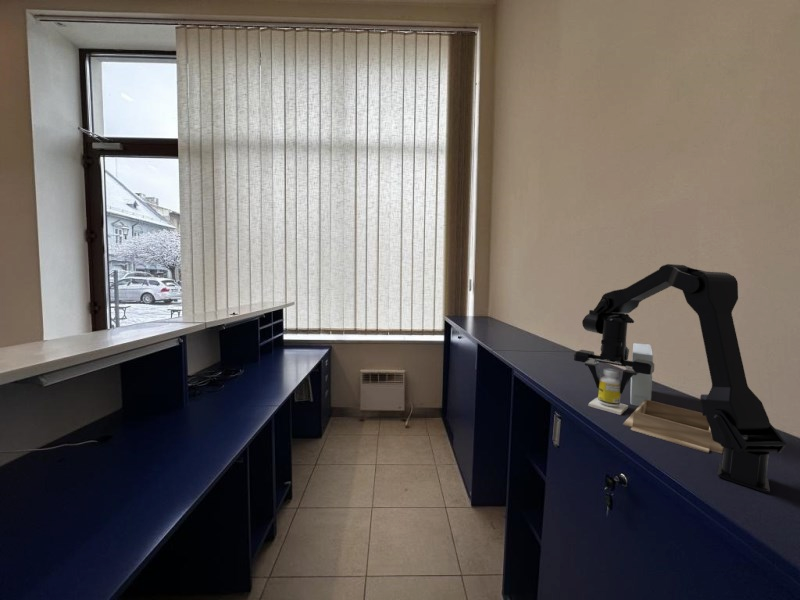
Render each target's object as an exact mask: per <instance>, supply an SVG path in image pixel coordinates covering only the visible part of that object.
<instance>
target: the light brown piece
mask: <svg viewBox="0 0 800 600" xmlns="http://www.w3.org/2000/svg"><path fill="white" fill-rule="evenodd" d="M702 414H703V412H700V411H696V410H692V409H688V408H684V407H679V406H675V405H671V404H666V403H662V402H658V401H655V400H651V401H650V400H646V399H645V400H644V401H643V402H642V404H641V405H640V406H638V407H636V409H635V410H634V411H633V412H632V413H631V414H630V416H629V417H627V419H626V420H625V421H624V422H623V423H622V426H625V427H630V431H633V432H637V433H640V434H643V435H647V436H650V437H654V438H657V439H660V440H663V441H667V442H669V443H673V444H676V445H680V446H683V447H685V448H690V449H694V450H695V451H696V450H697V451H699V452H702V453H703V452H704V453H706V454H709V453H710V451H711V452H713V453H717V454H721V455H723V450H724V447H722V446H721V444H719V443H717V442H715V441H714V440H713V437H712V433H711V429H710V425H709V423H708V421H707V419H706V416H703V415H702Z"/></svg>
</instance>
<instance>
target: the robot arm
mask: <svg viewBox="0 0 800 600" xmlns="http://www.w3.org/2000/svg"><path fill="white" fill-rule="evenodd" d="M738 285H739V284H738V280H737V278H736V277H735V275H732V274H730V273H728V272H724V271H707V270H701V269H697V268H693V267H690V266H686V265H685V264H675V263H674V264H671V263H668V264H667V263H666V264H664V265H661V266H660V267H659V268H658V269H657V270H656V271H653V272H652V273H650V274H648V275H646V276H645V277H644V278H641V279H640V280H638V281H636V282H634V283H633V284H631V285H629V286H627V287H625V288H622V289H621V288H620V289H617V290H614V289H613V290H612V291H608V292H606V293H603V295H602V296H601V299H600V300H599V302H598V303H597V304H596V307H595V308H594V309H590V310H589V312H588V313H587V314H586V315H585V316H584V317H583V319H582V320H581V321H582V327H583V328H584V329H585V331H587V332H591V333H596V334H601V335H602V336H601V337H602V338H601V341H600V342H601V343H600V344H601V346H600V354H595V352H594V351H592V350H586V349H580V350H578V351H575V352H574V354H573V361H574V362H581V363H584V366H586V367H587V368H588V369H589V371H590V373H591V375H592V377H593V380H594V383H595V385H596V388H597V389H599V382H600V377H601V366H602V363H603V364H609V365H615V366H619V367H623V368H625V369H624V370H623V371H622V376H621V387H620V393H621V395H623V393H624V392H625V390H626V388H627V386H628V384H629V382H630V381H631V377H632V376H633V375H637V374H638V373H642V374H648V375H651V374H652V375H653V373H654V371H655V363H654V362H652V361H647V360H641V359H636V360H635V361H632V360H628V359H629V353H630V349H629V348H628V347H627V336H628V335H627V334H628V324H634V323H635V320H634V319H633V318H631V316H630V315H629V314H630V313H631V312H633V311H634V310H636V309H637V308H638V307H639V304H640V303H641V302H643V301H644V300H646V299H648V298H650V297H652V296H654V295H656V294H659V293H660V292H663V291H664V290H666V289H668V288H670V287H673V288H675V289H677V290H680V291H682V294H683V296H684V298H685V301H686V303H687V305H689V306H690V308H691V309H692V310H693V311H694V312H695V313H696V314H697V316H698V319H699V325H700V330H701V335H702V339H703V345H704V350H705V354H706V355H705V356H706V361H707V364H708V371H709V375H710V381H711V388H710V390H709V393H708V394H706V393H705V394H700V396H699V397H700V403H701V404H702V413H703V414H702V415H703V416H706V419H707V421H708V423H709V425H710V429H711V433H712V437H713V440H714V441H715V442H717V443H719V444H721V446H722V447H723V451H722V460H721V462H719V463H718V469H717V477H718V478H721V479H723V480H726V481H730V482H732V483H736V484H738V485H742V486H744V487H747V488H751V489H754V490H757V491H760V492H762V493H765V494H770V492H771V489H770V484H769V483H770V482H769V478H768V477H767V474H768V466H769V456H770V453H782V452H783V451H784V449H785V448H786V447H787V442H786V441H785V440H784V438H783V437H782V436H781V435H780V433H779V431H777V429H776V428H775V427H774V426H773V425H772V424H771V422H770V418H769V416H768V414H767V412H766V409H765V407H764V405H763V402H762V401H761V400H760V399H759V397H758V396H757V395H756V394H755V393H754V392H753V391H752V390H751V388H750V387H749V385H748V382H747V377H746V372H745V368H744V363H743V359H742V354H741V349H740V345H739V341H738V336H737V332H736V328H735V323H734V322H735V321H734V318H733V310H734V308H735V306H736V304H737V302H738V300H739V287H738Z"/></svg>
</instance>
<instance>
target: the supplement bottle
mask: <svg viewBox="0 0 800 600" xmlns="http://www.w3.org/2000/svg"><path fill="white" fill-rule="evenodd" d="M602 374H603V375H600V382H599V388H598V395H597V397H598V401H599V402H600V403H601V404H604V405H607V406H614V407H616V406H619V405H620V403H621V395H622V394H621V393H620V387H621V381H622V378H619V377H620V374H621V373H620V370H618V369H616V368H603V371H602Z"/></svg>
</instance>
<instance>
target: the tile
mask: <svg viewBox="0 0 800 600" xmlns="http://www.w3.org/2000/svg"><path fill="white" fill-rule="evenodd" d="M587 404H588V405H587V406H588V407H591V408H594V409H598V410H601V411H604V412H605V411H606V412H609V413H613V414H615V415H616V414H617V415H619V416H621V415H622V414H623V413H625V412H626V411H627V409H629V405H628V404H624V403H621V402H620V405H619V406H616V407H614V406H607V405H604V404H601V403H600V402H599V401H598V396H597V397H595V398H594V399H592V400H591V401H590V402H589V403H587Z"/></svg>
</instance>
